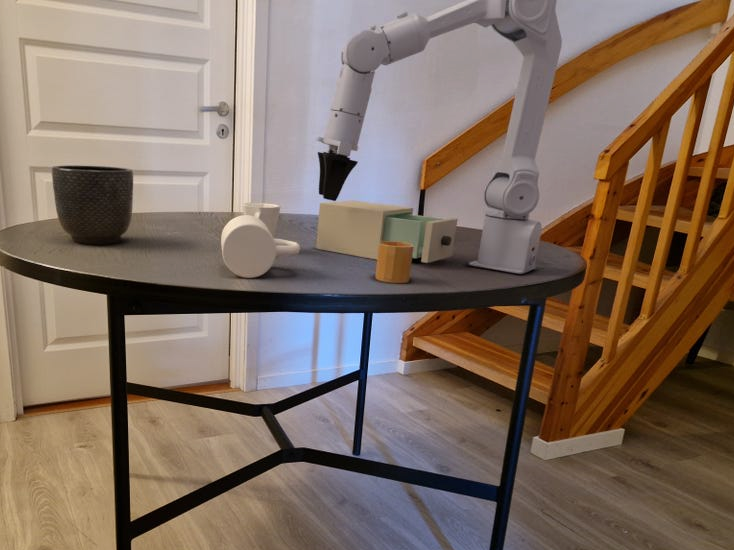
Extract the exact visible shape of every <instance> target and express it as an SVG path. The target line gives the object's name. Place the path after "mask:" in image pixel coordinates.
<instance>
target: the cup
mask: <svg viewBox="0 0 734 550" xmlns="http://www.w3.org/2000/svg"><path fill="white" fill-rule="evenodd" d="M241 207H242V215H250V216H254V217H256V218H258V219H260V220H261V221H262V222H263V223H264V224H265V225H266V226H267V228H268V230H269V231H270V233H271V235H272V236H273V238H275V235H276V232H277V231H276V230H277V226H278V221H279V218H280V217H279V216H280V212H281V206H280V205H278V204H273V203H266V202H246V203H242V206H241Z"/></svg>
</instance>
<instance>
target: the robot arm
mask: <svg viewBox="0 0 734 550" xmlns="http://www.w3.org/2000/svg"><path fill="white" fill-rule="evenodd" d="M557 2H558V0H463V1H461V2H459V3H457V4H454V5H452V6H450V7H448V8H445V9H442V10H440V11H438V12H436V13H434V14H431V15H429V16H427V17H425V16H422V15H420V14H418V13H417V12H411V13H409V14H408V11H403V12H401V13H399V14H397V16H396V17H397V19H395V20H392V21H390V22H387V23H385V24H381V25H380V26H377V25H376V24H373V25H371V26H369V28H368V29H362V30H361V31H360V32H359V33H357V34H354V35H353V36H352V38H351V39H349V40H348V42H347V43H346V44H345V46H344V48H343V49H342V50H343V51H341V53H340V62H341V68H340V70H339V77H338V78H339V79H337V82H336V86H335V90H334V94H333V98H332V102H331V106H330V111H329V115H328V119H327V123H326V127H325V132H324V136H323V137H322V136H316V140H315V141H316V142H320V143H322V144H325V145H328V147H327V151H323V152H320V151H318V152H317V157H318V163H319V178H318V179H319V180H318V194H319V195H321V196H322V198H323V199H324V200H329V201H331V202H337V200H338V198H339V195H340V193H341V191H342V189H343V187H344V185H345V182H346V180H347V178H348V177H349V175H350V173H352V171H353V170H354V168H355V167H356V166H357V165H358V163H359V162H358V160H353V159H351V158H350V157H351V153H352V152H351V151H354V152H358V149H359V146H358V144H359V140H360V137H361V133H362V129H363V125H364V121H365V117H366V113H367V109H368V105H369V102H370V99H371V98H370V97H371V94H372V90H373V89H372V86H373V81H374V77H375V74H376V70H377V69H378V68H379V67H381V65H382V66H388V65H389V66H390V65H392V64H394V63H396V62H399V61H401V60H403V59H407V58H409V57H411V56H413V55H416V54H419V53H422V52H424V50H425V49H426V47H427V46H428V43H429V41H430V40H431V39H433V38H436V37H438V36H441V35H444V34H447V33H450V32H453V31H455V30H459V29H461V28H463V27H466V26H469V25H471V24H477V25H479V26H481V27H483V28H488V27H490V26H491V28H492V29H493V31H494V32H495V33H497V34H498V35H499V36H501V37H503V38H504V39H506V40H508V41H510V43H513V44H514V46H515V47H516V49H517V50H518V51H519V52H520V53H521V56H522V57H523V59H522V63H521V67H520V71H519V72H520V73H519V78H518V82H517V86H516V90H515V95H514V99H513V104H512V108H511V109H512V110H511V114H510V119H509V123H508V126H507V133H506V136H505V142H504V146H503V151H502V155H501V157H500V159H499V160H498V161H497V163H496V165H495V166H494V169H493V173H492V176H491V178H490V179H489V181H488V182H487V183H486V185H485V187H484V189H483V201H484V203H485V205H486V207H487V208H486V211H485V214H484V218H483V219H484V220H483V225H482V232H481V237H480V243H479V249H478V255H477V260H473V261H470V262H468V266H472V267H476V268H483V269H488V270H494V271H500V272H505V273H506V272H507V273H511V274H518V275H524V274H526V273H528V272H530V271H532V270H535V269H536V268H537V267H536V261H537V257H538V252H539V248H540V247H539V246H540V242H541V237H542V223H541V221H539V220H533V219H530V214H531V213H532V212H533V211H534V210H535V209H536V208H537V206H538V203H539V202H540V201H539V200H540V190H539V177H540V171H539V168H538V165H537V163H536V156H537V151H538V149H539V144H540V139H541V135H542V131H543V127H544V123H545V119H546V118H545V117H546V114H547V109H548V105H549V102H550V97H551V93H552V89H553V84H554V80H555V77H556V71H557V67H558V63H559V59H560V54H561V50H562V45H563V43H562V42H563V39H562V35H561V30H560V25H559V21H558V16H557V12H556V8H557Z"/></svg>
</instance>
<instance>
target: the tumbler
mask: <svg viewBox="0 0 734 550" xmlns="http://www.w3.org/2000/svg"><path fill="white" fill-rule="evenodd" d="M413 248H414V245H413V244H410V243H405V242H397V241H382V242H379V248H378V257H377V260H376V265H375V266H376V267H375V276H374V277H375V279H376V280H377V281H379V282H384V283H390V284H406V283H409V282H410V277H411V270H412V262H413V258H412V255H413Z"/></svg>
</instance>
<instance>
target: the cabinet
mask: <svg viewBox="0 0 734 550" xmlns="http://www.w3.org/2000/svg"><path fill="white" fill-rule="evenodd" d="M402 213H404V214H411V215H414V207H409V206H401V205H394V204H385V203H376V202H369V201H360V200H354V199H353V200H341V201H329V202H319V207H318V221H317V234H316V249H317V250H320V251H325V252H326V251H327V252H333V253H337V254H343V255H347V256H348V255H349V256H354V257H359V258H366V259H371V260H376V261H377V257H378V248H379V242H382V238H383V230H384V221H385V216H386V215H394V214H402Z"/></svg>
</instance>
